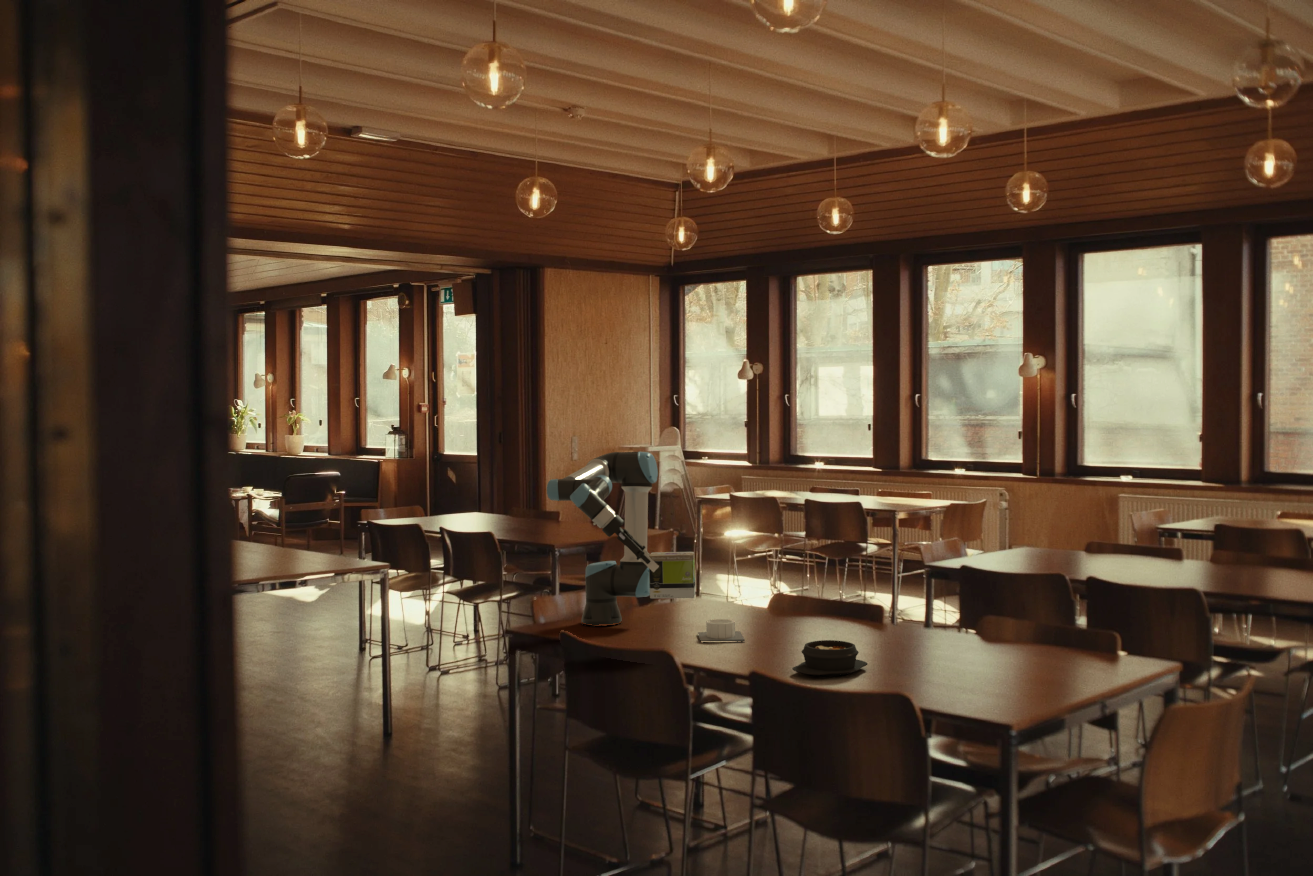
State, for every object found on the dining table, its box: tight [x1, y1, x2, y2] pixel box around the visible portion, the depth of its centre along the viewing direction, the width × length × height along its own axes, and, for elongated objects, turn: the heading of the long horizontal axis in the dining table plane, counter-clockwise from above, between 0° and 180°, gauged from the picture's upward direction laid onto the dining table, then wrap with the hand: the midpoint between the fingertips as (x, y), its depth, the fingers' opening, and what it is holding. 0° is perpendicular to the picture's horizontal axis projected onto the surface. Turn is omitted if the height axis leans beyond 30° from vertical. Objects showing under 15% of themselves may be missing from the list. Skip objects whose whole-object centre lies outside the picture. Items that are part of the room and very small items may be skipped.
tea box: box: [649, 551, 696, 599], centre depth 384 cm, size 15×10×15 cm, turn 85°
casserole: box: [792, 639, 869, 677], centre depth 341 cm, size 25×19×8 cm
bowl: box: [697, 618, 745, 641], centre depth 397 cm, size 15×15×6 cm
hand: (655, 567), depth 385 cm, fingers closed on tea box, 10 cm apart
